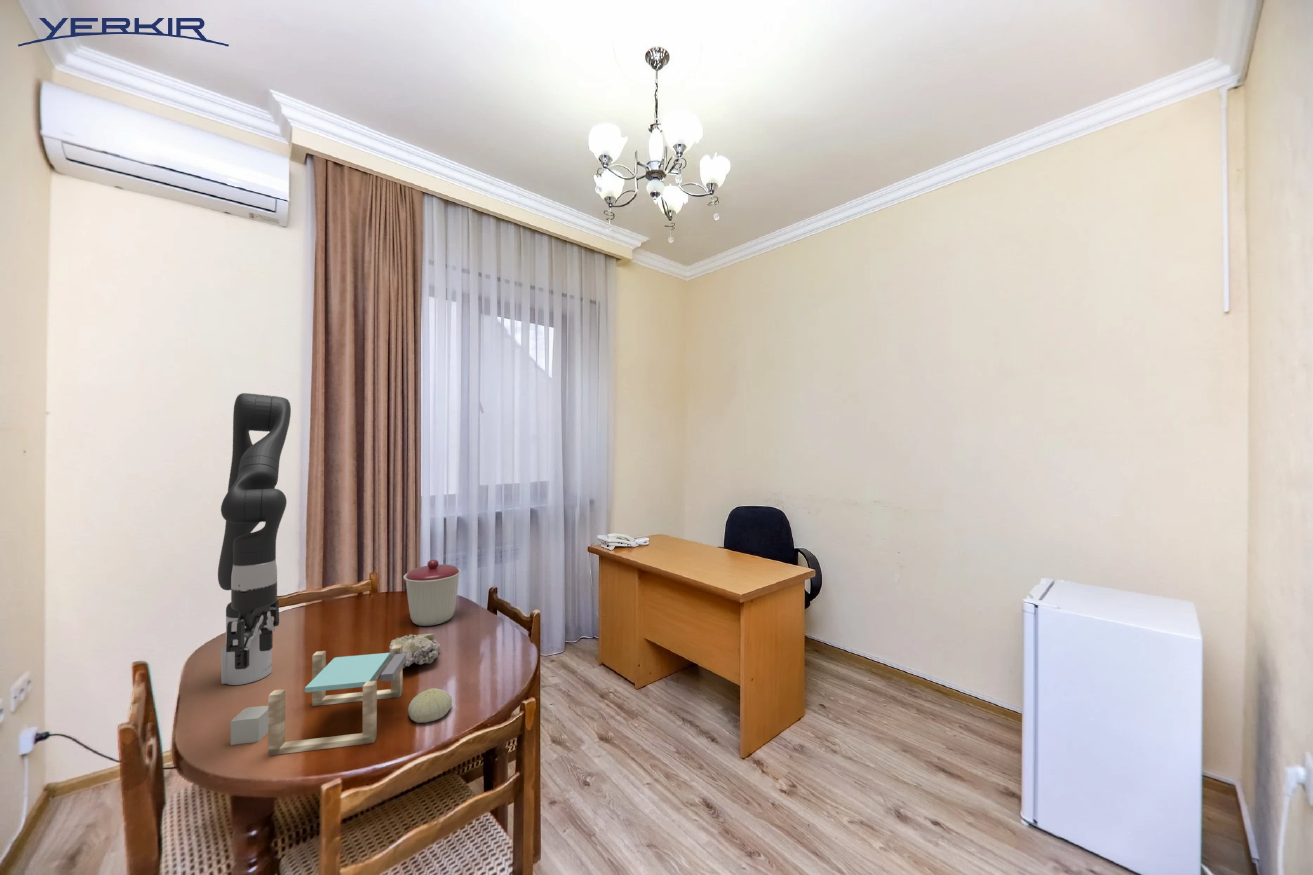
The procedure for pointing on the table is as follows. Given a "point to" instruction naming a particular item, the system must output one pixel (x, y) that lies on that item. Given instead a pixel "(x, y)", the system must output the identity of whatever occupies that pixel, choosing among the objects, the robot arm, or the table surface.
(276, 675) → the table surface
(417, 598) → the canister
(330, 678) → the trapdoor
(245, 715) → the grey cube
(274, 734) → the frame
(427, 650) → the geode
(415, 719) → the sea urchin shell
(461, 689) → the table surface
